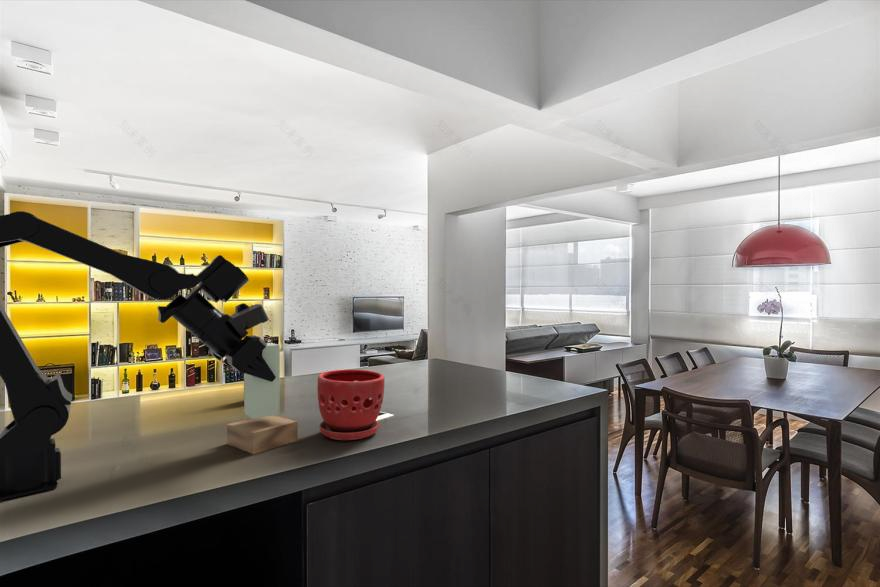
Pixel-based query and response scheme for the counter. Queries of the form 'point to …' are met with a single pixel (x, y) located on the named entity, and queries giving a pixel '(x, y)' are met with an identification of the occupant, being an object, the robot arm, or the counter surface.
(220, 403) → the counter surface
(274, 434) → the tan block
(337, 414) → the plant pot
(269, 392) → the sage block
